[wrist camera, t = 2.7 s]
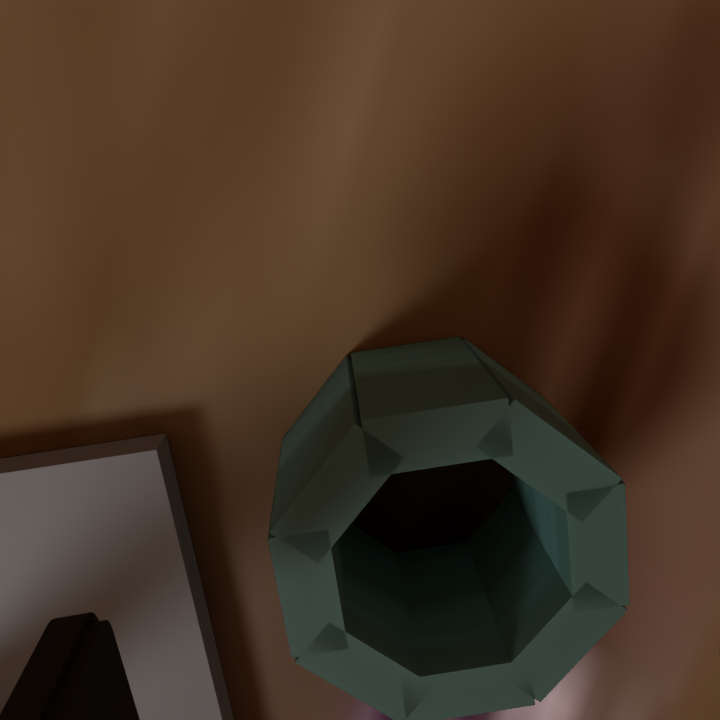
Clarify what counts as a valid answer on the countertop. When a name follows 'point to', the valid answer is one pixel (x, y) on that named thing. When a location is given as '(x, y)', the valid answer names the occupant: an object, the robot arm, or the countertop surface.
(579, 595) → the ring
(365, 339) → the countertop surface
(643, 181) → the countertop surface
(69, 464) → the post fixture
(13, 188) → the countertop surface
